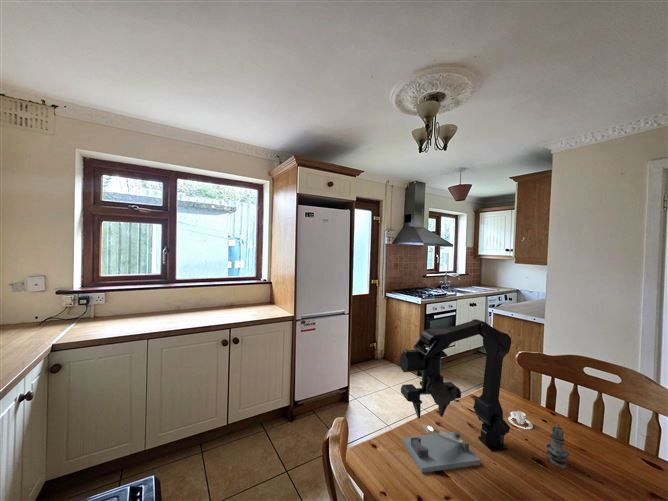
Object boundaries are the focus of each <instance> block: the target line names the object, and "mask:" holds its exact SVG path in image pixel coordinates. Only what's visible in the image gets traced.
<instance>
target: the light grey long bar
mask: <svg viewBox="0 0 668 501" xmlns="http://www.w3.org/2000/svg"><path fill="white" fill-rule="evenodd" d="M422 427H423V429H424V430H425V431H426V433H427V434H428V435H431V434H432V435H434V436H437V437H439V438H442V439H444V440H447V441H449V442H452V443H454V444H457V445H459V446H462V448H463V442H465V441H464V440H462V438H461V436H460V437H455V436H453V435H450V434H448V433H449V432H446V431H442V430H440V429H438V427H437V426H436V425H434V424H432V423H428V424H425V423H424V424H423V425H422Z"/></svg>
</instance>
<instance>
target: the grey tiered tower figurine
mask: <svg viewBox="0 0 668 501" xmlns="http://www.w3.org/2000/svg"><path fill="white" fill-rule="evenodd" d="M564 433H565V431H564V429H563V428H562V427H560V425H559V424H558V423H557V424H556V425H553V426H552V427H551V434H550V438H551V440H550V441H551V442H550V443H546V444H545V448H546V451H547V453H548V454H546V456H545V458H546V459H547V461H548V462H550V464H552V465H554V466H556V467H558V468H563V469H566V468H568V466H569V465H568V462H567V460H568V458H569V457H570V453H569V451H568V450H567V449H565V447H564V446H565V444H564V443H566V440H565V439H564Z"/></svg>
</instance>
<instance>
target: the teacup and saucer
mask: <svg viewBox="0 0 668 501" xmlns="http://www.w3.org/2000/svg"><path fill="white" fill-rule="evenodd" d="M512 418H514V419H515V420H516V422H517V424H516V423H515V422H514V421H513V419H512ZM511 419H512V420H511ZM525 421H526V422H525ZM508 422H509V423H510V424H512V425H513V426H515V427H517V428H520V429H523V430H531V429H533V428H534V425H533V423H531V421H529V420H528V419H526V413H525V412H523V411H520V410H517V411H511V412H510V416H508ZM525 423H527V424H528V426H526V428H525V426H521V425H524V424H525ZM518 424H519V425H518Z"/></svg>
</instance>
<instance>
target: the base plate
mask: <svg viewBox="0 0 668 501" xmlns="http://www.w3.org/2000/svg"><path fill="white" fill-rule="evenodd" d="M447 433H448V434H450V435H453V436H455V437H460V438H461V433H460V432H459V431H450V432H447ZM402 443H403V445H404V446H405V448H406V450H407V451H408V453H409V455H410V456H411V458H412V460H413V461H414V463H415V464H416V467H417V468H418V469H419V472H420V473H422V474H423V473H424V474H425V473H431V472H439V471H445V470H453V469H460V468H468V467H473V466H481V459H480V458H479V457H478V456H477V455H476V454H475V452H474V451H473V450H472V449H471V448H470V442H468V441H464V442H463V448H462V446H459V445H457V444H454V443H452V442H449V441H447V440H444V439H442V438H439V437H437V436H434V435H432V434H422V435H414V436H413V435H412V436H405V437H402Z"/></svg>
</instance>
